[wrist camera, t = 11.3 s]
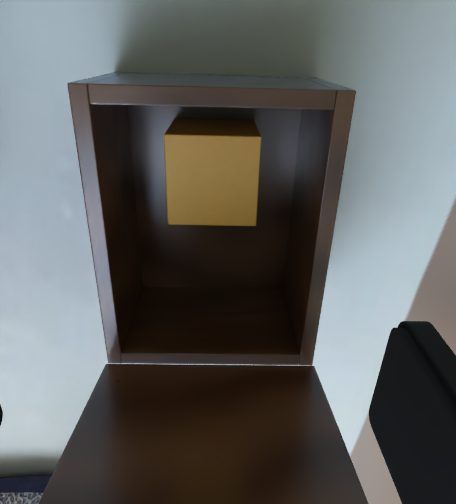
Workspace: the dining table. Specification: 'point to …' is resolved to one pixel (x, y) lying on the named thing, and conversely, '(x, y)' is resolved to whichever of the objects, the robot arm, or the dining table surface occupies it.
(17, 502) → the dish
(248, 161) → the block
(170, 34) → the dining table surface
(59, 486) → the lid
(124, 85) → the chest
